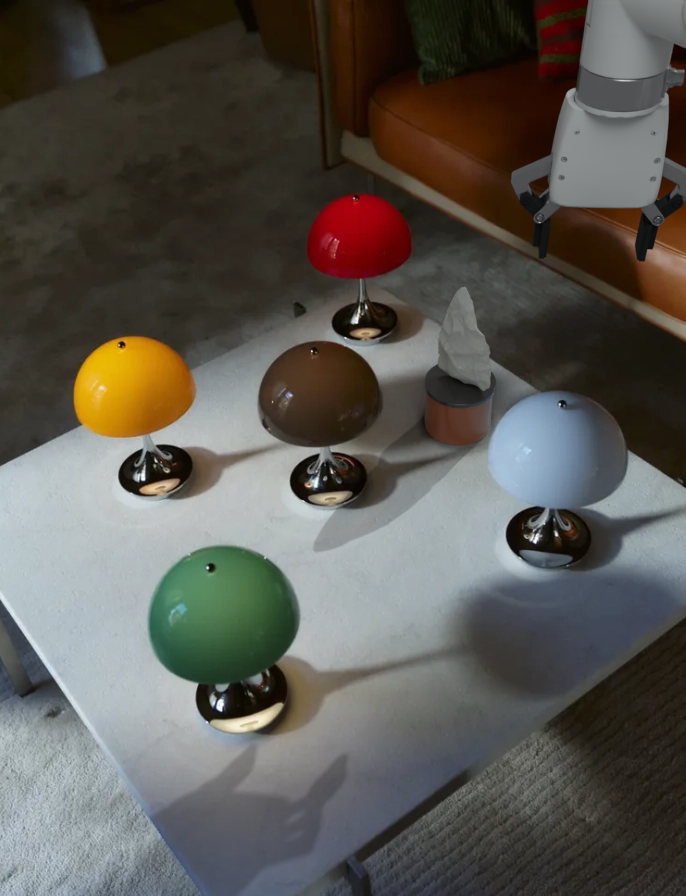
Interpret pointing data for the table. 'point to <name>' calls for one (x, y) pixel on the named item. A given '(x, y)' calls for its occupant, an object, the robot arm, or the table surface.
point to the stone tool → (464, 344)
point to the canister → (456, 408)
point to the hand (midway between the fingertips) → (590, 252)
